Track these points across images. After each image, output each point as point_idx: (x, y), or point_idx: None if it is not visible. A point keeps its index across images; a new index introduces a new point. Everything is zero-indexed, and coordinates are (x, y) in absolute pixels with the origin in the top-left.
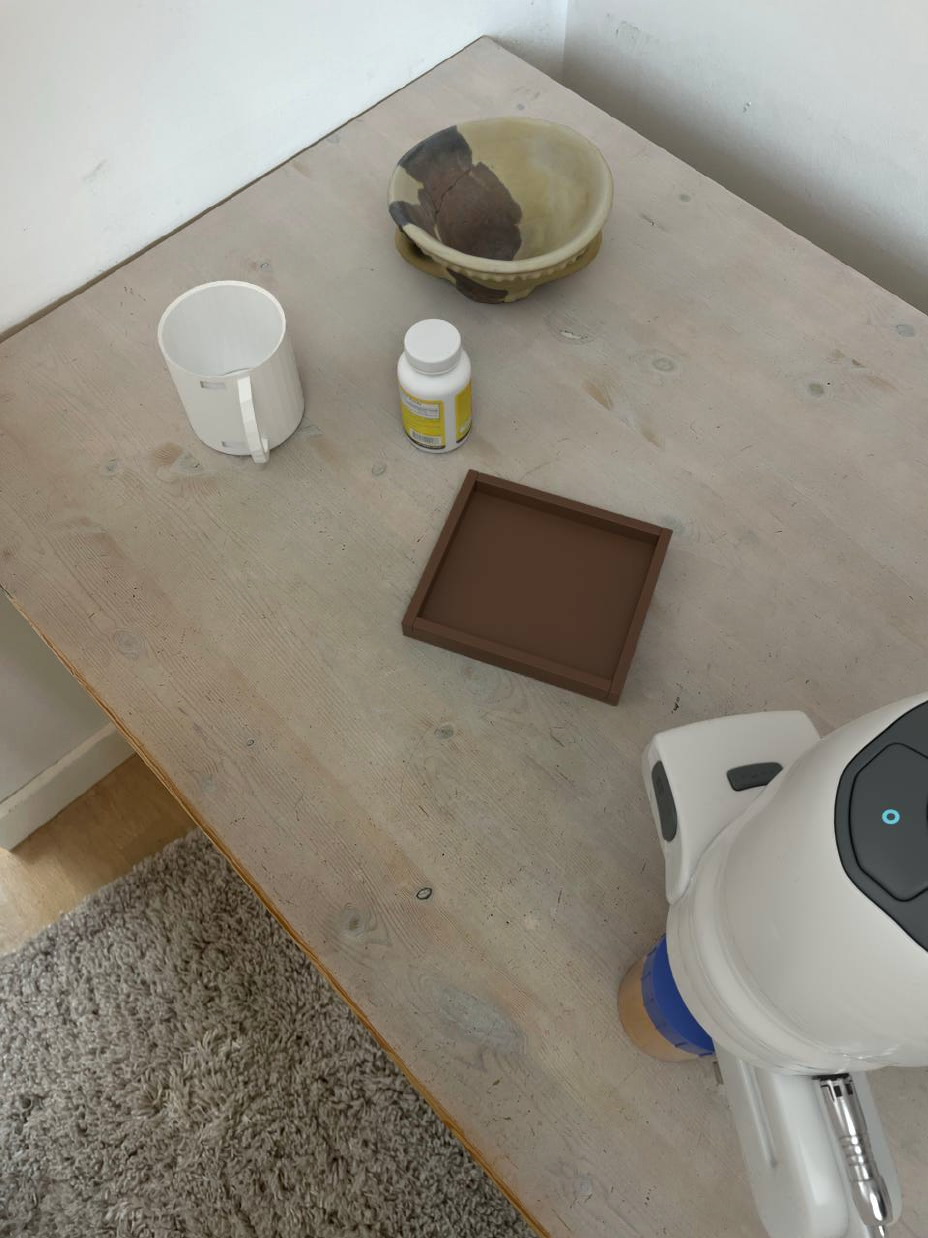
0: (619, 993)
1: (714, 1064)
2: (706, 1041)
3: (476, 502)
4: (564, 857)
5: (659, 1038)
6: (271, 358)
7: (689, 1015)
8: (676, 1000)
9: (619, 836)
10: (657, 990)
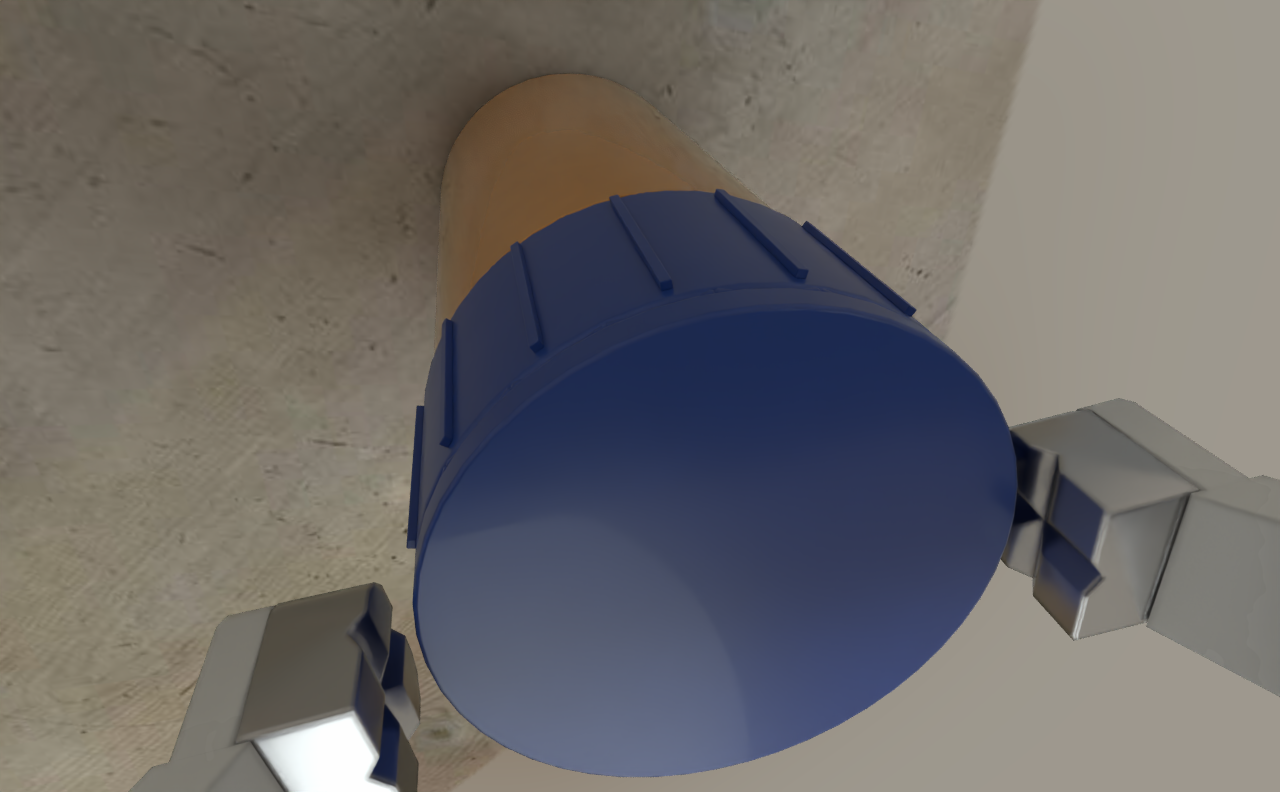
0: None
1: (1019, 569)
2: (944, 608)
3: None
4: (226, 437)
5: None
6: None
7: (842, 663)
8: (781, 703)
9: (125, 312)
10: (736, 754)
